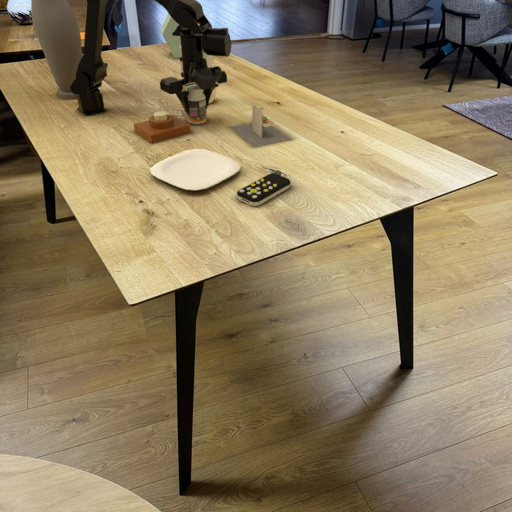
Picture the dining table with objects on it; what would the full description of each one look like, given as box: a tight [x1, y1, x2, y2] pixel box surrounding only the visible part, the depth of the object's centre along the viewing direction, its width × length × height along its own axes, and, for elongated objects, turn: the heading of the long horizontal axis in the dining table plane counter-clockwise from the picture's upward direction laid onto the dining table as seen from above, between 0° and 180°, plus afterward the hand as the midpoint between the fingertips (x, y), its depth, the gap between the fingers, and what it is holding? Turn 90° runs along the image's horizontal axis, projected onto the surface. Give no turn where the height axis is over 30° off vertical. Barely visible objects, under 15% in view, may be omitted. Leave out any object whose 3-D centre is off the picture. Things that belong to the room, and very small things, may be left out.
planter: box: [159, 12, 181, 59], centre depth 193 cm, size 17×8×21 cm
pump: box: [153, 110, 168, 121], centre depth 130 cm, size 4×4×2 cm
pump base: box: [133, 113, 191, 144], centre depth 131 cm, size 12×10×4 cm
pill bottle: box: [186, 84, 207, 125], centre depth 136 cm, size 6×6×10 cm
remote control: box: [236, 173, 291, 207], centre depth 105 cm, size 6×13×2 cm, turn 138°
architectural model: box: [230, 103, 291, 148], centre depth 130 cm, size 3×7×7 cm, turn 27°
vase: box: [30, 0, 83, 100], centre depth 148 cm, size 13×13×35 cm
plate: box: [149, 148, 242, 192], centre depth 112 cm, size 18×18×2 cm
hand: (196, 111), depth 137 cm, fingers closed on pill bottle, 6 cm apart
